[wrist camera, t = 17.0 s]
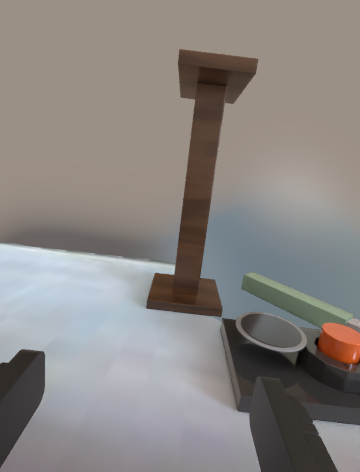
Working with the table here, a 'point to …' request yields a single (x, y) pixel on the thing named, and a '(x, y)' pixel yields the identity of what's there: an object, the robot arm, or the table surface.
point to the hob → (294, 375)
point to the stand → (200, 177)
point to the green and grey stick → (297, 302)
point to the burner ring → (271, 332)
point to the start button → (340, 343)
